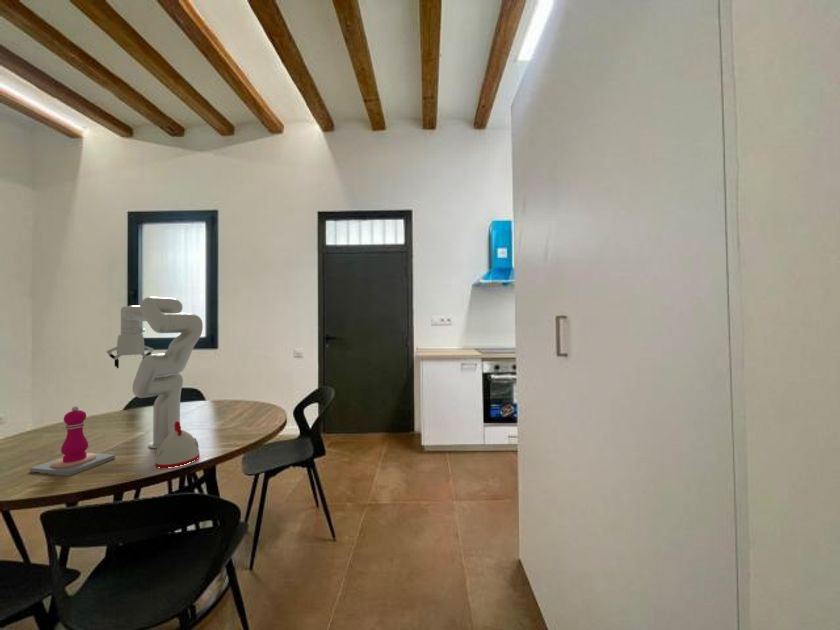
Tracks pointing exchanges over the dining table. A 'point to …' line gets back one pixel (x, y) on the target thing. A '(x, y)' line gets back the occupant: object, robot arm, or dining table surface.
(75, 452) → the pepper mill
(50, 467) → the slate board
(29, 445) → the dining table surface
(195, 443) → the kitchen timer
